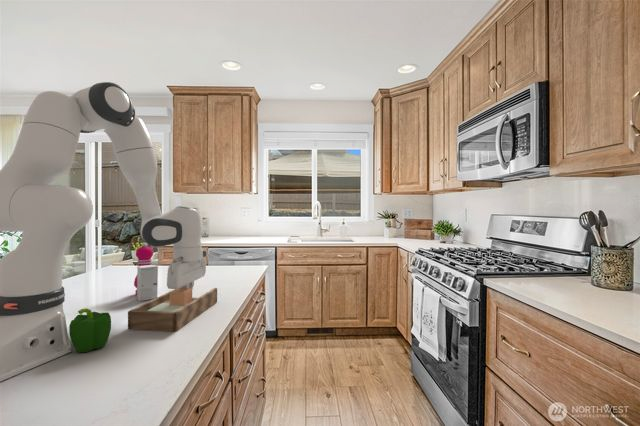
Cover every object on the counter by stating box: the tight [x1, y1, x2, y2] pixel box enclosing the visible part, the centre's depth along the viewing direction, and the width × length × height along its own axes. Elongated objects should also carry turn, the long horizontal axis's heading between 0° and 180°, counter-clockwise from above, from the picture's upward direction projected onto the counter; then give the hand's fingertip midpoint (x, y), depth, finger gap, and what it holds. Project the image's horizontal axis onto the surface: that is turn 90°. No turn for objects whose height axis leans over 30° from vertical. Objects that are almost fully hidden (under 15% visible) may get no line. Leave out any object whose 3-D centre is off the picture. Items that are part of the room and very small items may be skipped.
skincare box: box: [136, 264, 159, 302], centre depth 120 cm, size 6×4×12 cm
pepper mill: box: [133, 242, 154, 296], centre depth 126 cm, size 7×7×20 cm
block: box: [169, 289, 193, 306], centre depth 105 cm, size 5×5×4 cm
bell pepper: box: [68, 307, 112, 353], centre depth 78 cm, size 8×8×10 cm
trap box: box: [127, 287, 218, 332], centre depth 103 cm, size 28×14×5 cm, turn 175°
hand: (187, 295), depth 110 cm, fingers closed
